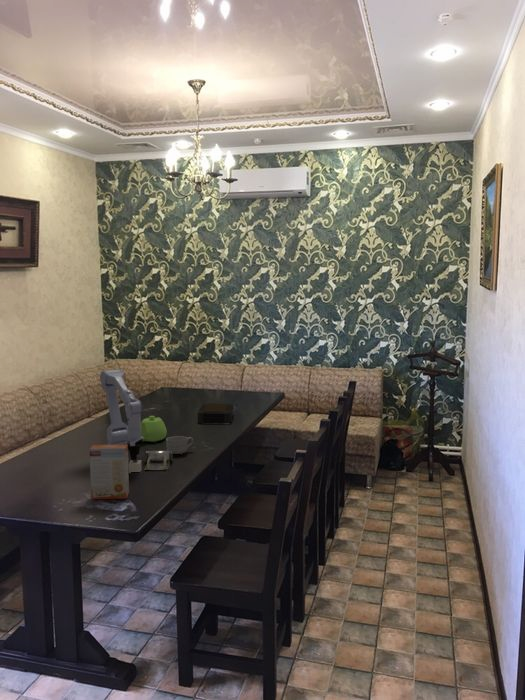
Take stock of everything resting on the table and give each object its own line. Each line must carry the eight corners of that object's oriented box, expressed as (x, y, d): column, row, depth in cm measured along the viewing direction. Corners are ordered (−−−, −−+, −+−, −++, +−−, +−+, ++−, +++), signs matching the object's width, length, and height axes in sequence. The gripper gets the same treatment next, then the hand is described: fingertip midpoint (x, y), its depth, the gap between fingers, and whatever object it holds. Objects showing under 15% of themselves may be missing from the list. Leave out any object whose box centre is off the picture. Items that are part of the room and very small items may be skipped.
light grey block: (128, 473, 262) (128, 461, 261) (130, 469, 267) (130, 457, 266) (140, 473, 262) (139, 461, 261) (141, 469, 267) (141, 457, 266)
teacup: (167, 457, 284) (167, 441, 283) (164, 451, 295) (164, 435, 294) (195, 455, 288) (195, 439, 287) (192, 449, 298) (192, 434, 297)
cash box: (231, 425, 348) (231, 412, 347) (197, 424, 349) (197, 412, 348) (234, 415, 373) (234, 403, 372) (202, 414, 374) (202, 403, 373)
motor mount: (142, 470, 264) (142, 458, 264) (146, 460, 279) (146, 449, 279) (170, 470, 265) (170, 458, 265) (172, 460, 280) (172, 448, 280)
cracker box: (129, 494, 236) (128, 443, 234) (126, 499, 230) (125, 448, 228) (94, 494, 236) (93, 444, 233) (90, 499, 230) (89, 448, 227)
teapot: (154, 447, 301) (153, 422, 300) (128, 444, 306) (127, 420, 304) (172, 436, 322) (172, 413, 320) (148, 434, 326) (148, 411, 325)
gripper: (141, 431, 255) (141, 461, 256) (145, 423, 269) (146, 452, 271) (124, 432, 254) (125, 462, 256) (129, 423, 269) (130, 452, 270)
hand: (135, 457), depth 263 cm, fingers open, 7 cm apart
